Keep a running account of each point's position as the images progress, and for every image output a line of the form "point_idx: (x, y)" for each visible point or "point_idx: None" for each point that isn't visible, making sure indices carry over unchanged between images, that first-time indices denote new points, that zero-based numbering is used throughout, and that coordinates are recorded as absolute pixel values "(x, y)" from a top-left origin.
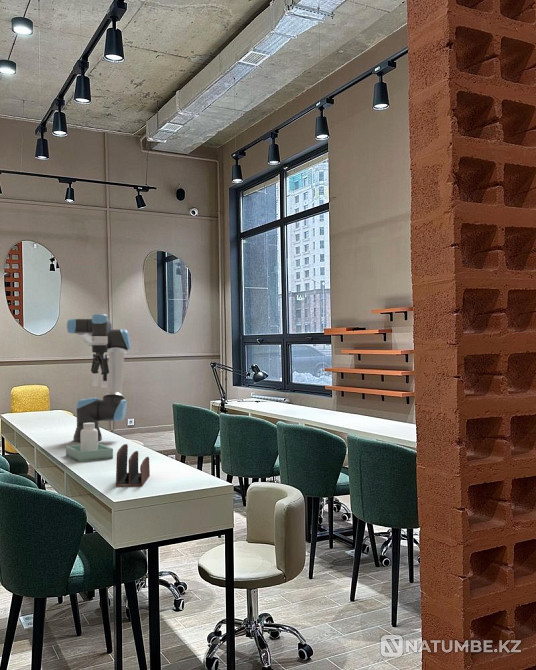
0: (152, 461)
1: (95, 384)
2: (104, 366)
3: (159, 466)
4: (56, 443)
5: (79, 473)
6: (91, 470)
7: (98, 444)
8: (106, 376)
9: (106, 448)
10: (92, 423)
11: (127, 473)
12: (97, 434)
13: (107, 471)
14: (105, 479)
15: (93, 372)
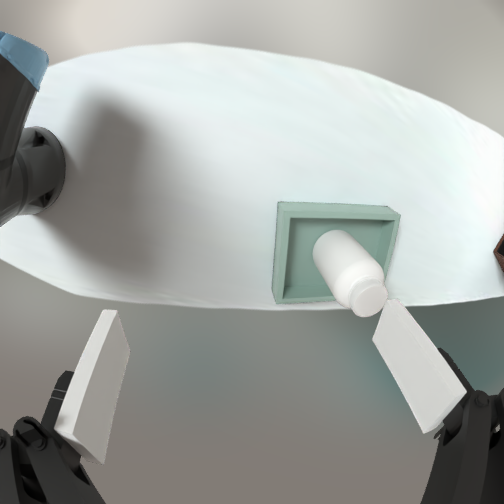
0: (460, 154)
1: (120, 345)
2: (500, 469)
3: (490, 174)
4: (55, 259)
5: (443, 301)
6: (442, 282)
7: (301, 217)
8: (463, 380)
9: (369, 218)
10: (386, 294)
11: (498, 252)
12: (374, 259)
13: (463, 262)
14: (485, 279)
15: (80, 467)
